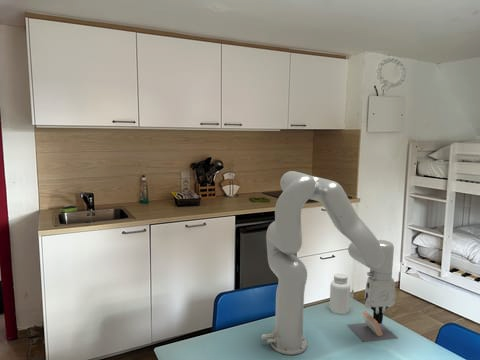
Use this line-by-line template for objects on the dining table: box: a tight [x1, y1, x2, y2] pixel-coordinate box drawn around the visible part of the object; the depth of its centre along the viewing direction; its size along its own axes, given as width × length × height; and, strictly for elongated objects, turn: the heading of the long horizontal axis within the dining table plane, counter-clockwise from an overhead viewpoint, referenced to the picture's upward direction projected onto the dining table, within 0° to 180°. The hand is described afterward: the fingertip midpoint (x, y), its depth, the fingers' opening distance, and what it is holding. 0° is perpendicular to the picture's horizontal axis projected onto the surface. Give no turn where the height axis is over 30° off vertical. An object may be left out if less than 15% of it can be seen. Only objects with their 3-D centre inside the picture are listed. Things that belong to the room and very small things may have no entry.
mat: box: [346, 322, 399, 343], centre depth 137 cm, size 14×12×1 cm
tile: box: [361, 310, 383, 337], centre depth 137 cm, size 2×8×6 cm, turn 11°
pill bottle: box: [329, 273, 351, 315], centre depth 153 cm, size 8×8×15 cm
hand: (377, 321), depth 137 cm, fingers closed
